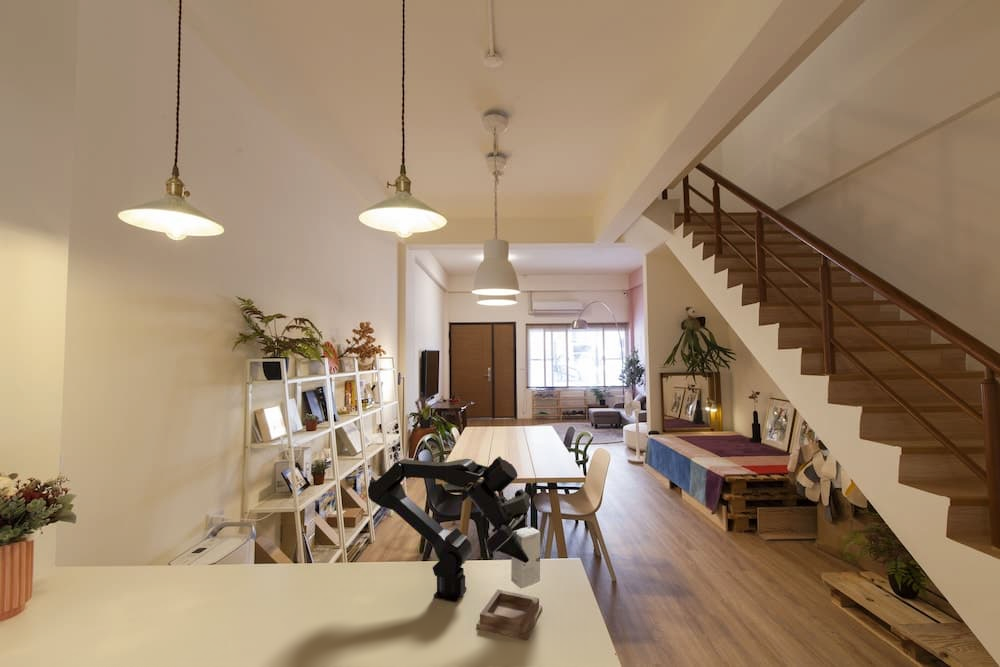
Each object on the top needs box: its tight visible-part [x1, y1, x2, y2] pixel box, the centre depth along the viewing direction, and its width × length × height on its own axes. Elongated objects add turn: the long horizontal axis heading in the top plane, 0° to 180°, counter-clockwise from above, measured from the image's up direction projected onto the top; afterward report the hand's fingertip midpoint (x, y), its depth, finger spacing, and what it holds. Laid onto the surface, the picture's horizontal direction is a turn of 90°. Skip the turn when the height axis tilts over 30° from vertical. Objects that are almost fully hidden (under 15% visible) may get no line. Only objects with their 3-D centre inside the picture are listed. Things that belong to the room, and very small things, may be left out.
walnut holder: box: [476, 589, 543, 641], centre depth 103 cm, size 12×12×3 cm
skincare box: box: [510, 525, 541, 589], centre depth 107 cm, size 6×4×12 cm
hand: (531, 554), depth 107 cm, fingers closed on skincare box, 7 cm apart
